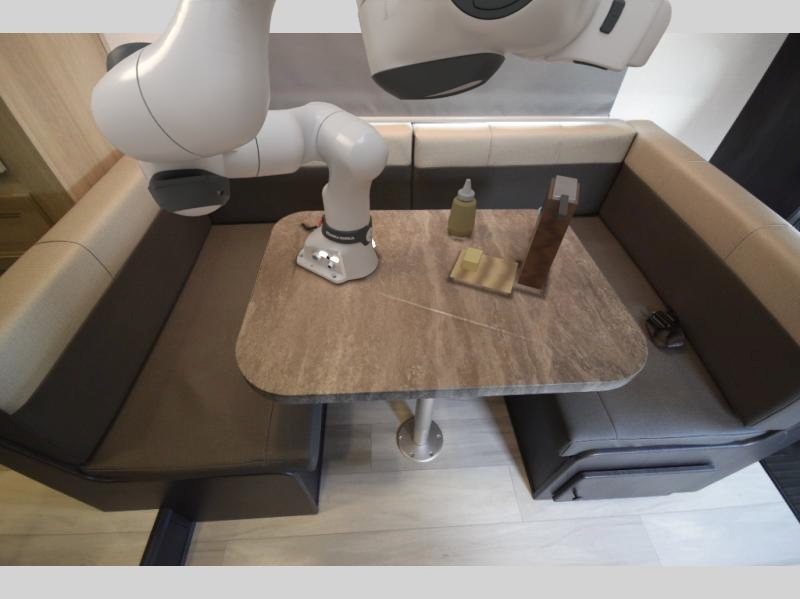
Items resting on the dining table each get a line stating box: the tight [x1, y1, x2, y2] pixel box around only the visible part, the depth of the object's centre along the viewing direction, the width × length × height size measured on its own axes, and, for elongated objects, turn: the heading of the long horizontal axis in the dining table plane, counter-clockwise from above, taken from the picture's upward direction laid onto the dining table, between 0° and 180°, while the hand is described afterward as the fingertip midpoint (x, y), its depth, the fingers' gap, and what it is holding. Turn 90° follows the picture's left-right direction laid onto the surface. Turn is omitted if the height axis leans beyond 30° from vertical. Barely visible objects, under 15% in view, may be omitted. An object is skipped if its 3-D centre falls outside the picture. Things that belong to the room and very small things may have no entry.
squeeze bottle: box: [447, 178, 477, 238], centre depth 102 cm, size 8×8×18 cm
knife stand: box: [517, 177, 581, 290], centre depth 85 cm, size 8×12×26 cm, turn 158°
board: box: [449, 248, 519, 294], centre depth 95 cm, size 16×13×2 cm
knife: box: [552, 174, 578, 222], centre depth 73 cm, size 4×18×2 cm, turn 158°
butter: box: [462, 246, 484, 272], centre depth 95 cm, size 4×6×3 cm, turn 158°
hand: (566, 24), depth 41 cm, fingers open, 8 cm apart
